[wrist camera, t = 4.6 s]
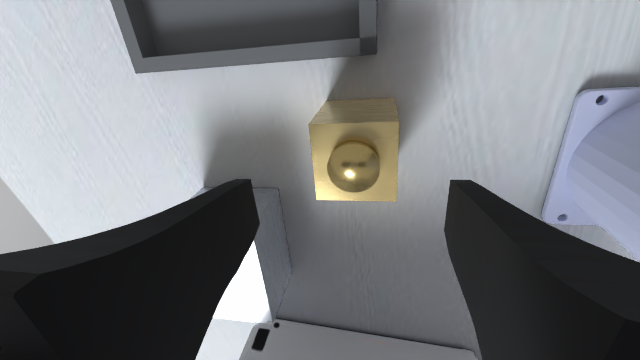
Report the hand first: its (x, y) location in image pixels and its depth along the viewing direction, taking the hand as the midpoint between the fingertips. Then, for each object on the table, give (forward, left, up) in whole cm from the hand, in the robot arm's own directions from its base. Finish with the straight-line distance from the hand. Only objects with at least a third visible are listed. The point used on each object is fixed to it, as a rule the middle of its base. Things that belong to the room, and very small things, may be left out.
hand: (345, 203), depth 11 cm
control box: (+9, +8, -8) cm, 15 cm away
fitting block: (0, 0, -9) cm, 9 cm away
